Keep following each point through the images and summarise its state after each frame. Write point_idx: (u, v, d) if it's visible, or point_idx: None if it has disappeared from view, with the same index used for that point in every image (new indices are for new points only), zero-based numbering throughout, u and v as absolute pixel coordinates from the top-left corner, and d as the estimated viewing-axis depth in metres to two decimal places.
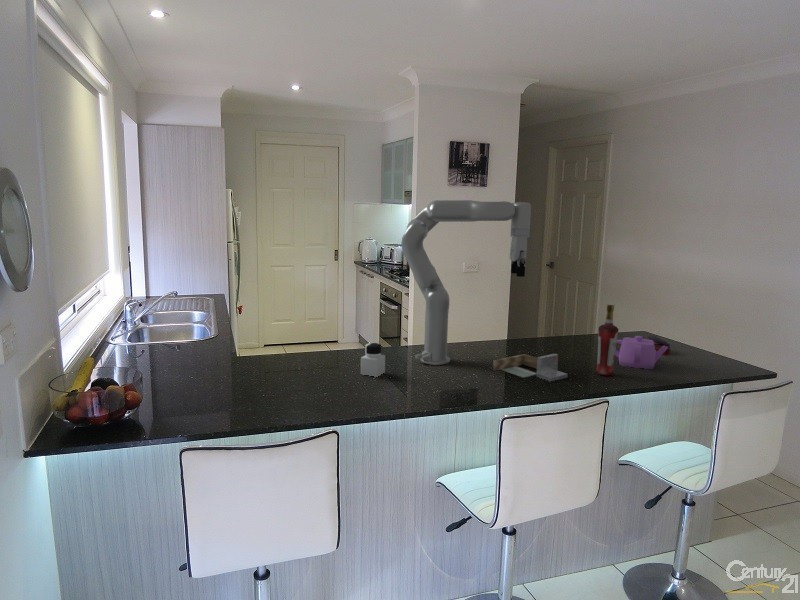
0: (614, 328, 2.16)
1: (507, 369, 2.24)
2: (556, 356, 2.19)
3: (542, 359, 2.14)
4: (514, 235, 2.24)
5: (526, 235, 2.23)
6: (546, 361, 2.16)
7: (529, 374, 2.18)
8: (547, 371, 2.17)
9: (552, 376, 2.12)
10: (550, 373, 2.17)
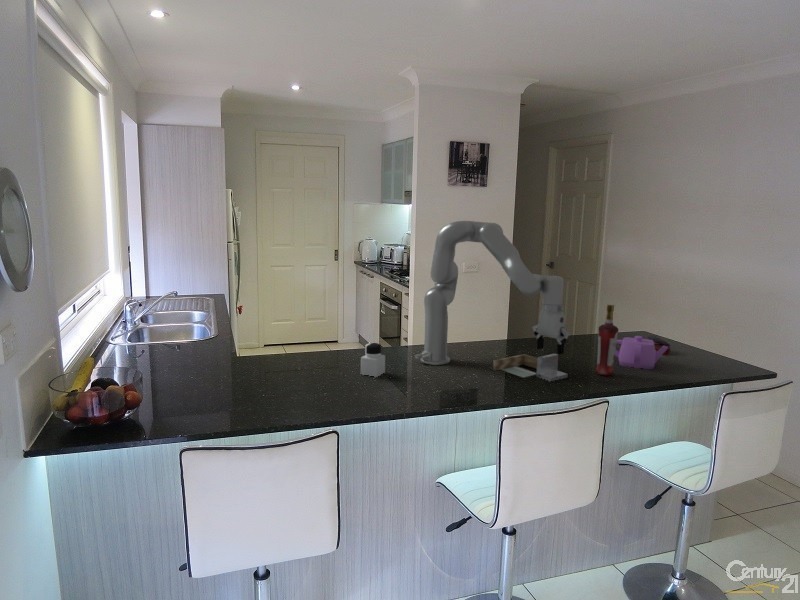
0: (614, 328, 2.16)
1: (507, 369, 2.24)
2: (556, 356, 2.19)
3: (542, 359, 2.14)
4: None
5: (542, 309, 2.16)
6: (546, 361, 2.16)
7: (529, 374, 2.18)
8: (547, 371, 2.17)
9: (552, 376, 2.12)
10: (550, 373, 2.17)
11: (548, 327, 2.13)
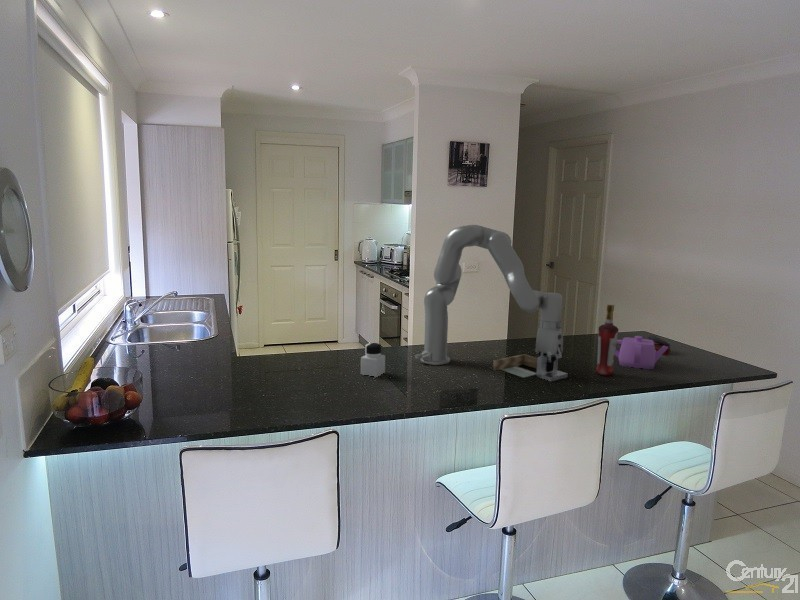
0: (614, 328, 2.16)
1: (507, 369, 2.24)
2: None
3: (542, 359, 2.14)
4: None
5: (540, 325, 2.17)
6: (546, 361, 2.16)
7: (529, 374, 2.18)
8: None
9: (552, 376, 2.12)
10: (550, 373, 2.17)
11: (546, 343, 2.15)
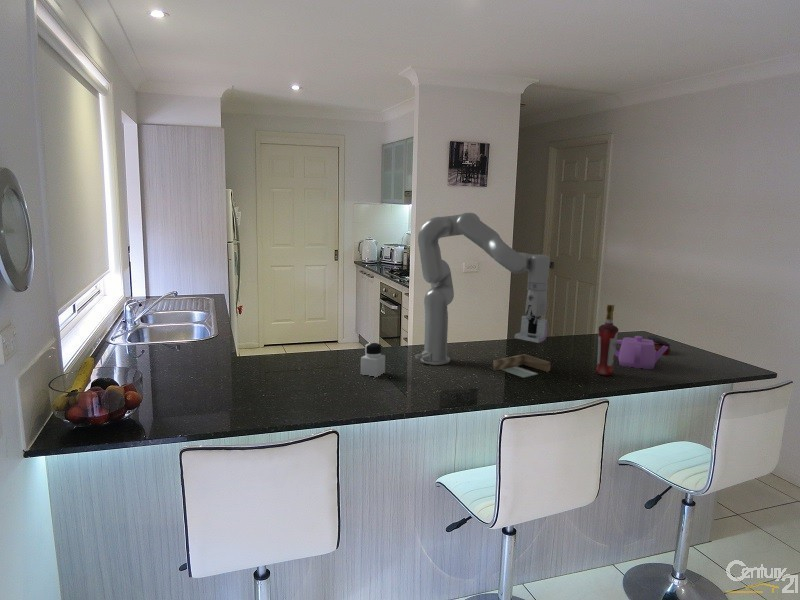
0: (614, 328, 2.16)
1: (507, 369, 2.24)
2: (542, 321, 2.15)
3: (522, 317, 2.20)
4: None
5: None
6: (527, 321, 2.19)
7: (529, 374, 2.18)
8: None
9: (519, 334, 2.17)
10: (530, 334, 2.18)
11: None
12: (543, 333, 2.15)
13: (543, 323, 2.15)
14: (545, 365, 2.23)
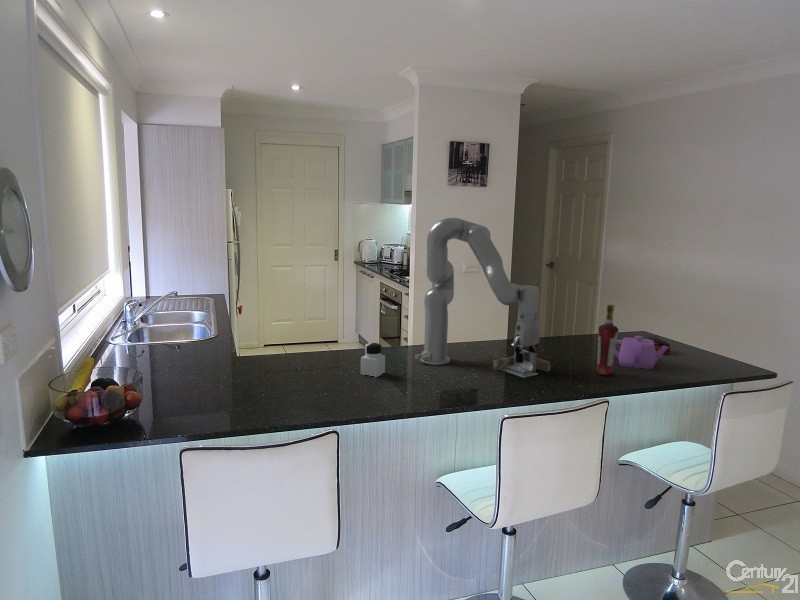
0: (614, 328, 2.16)
1: None
2: (530, 355, 2.19)
3: None
4: (536, 319, 2.19)
5: None
6: None
7: None
8: (520, 365, 2.23)
9: (508, 366, 2.23)
10: (519, 367, 2.22)
11: None
12: (531, 367, 2.19)
13: (531, 357, 2.18)
14: (545, 365, 2.23)
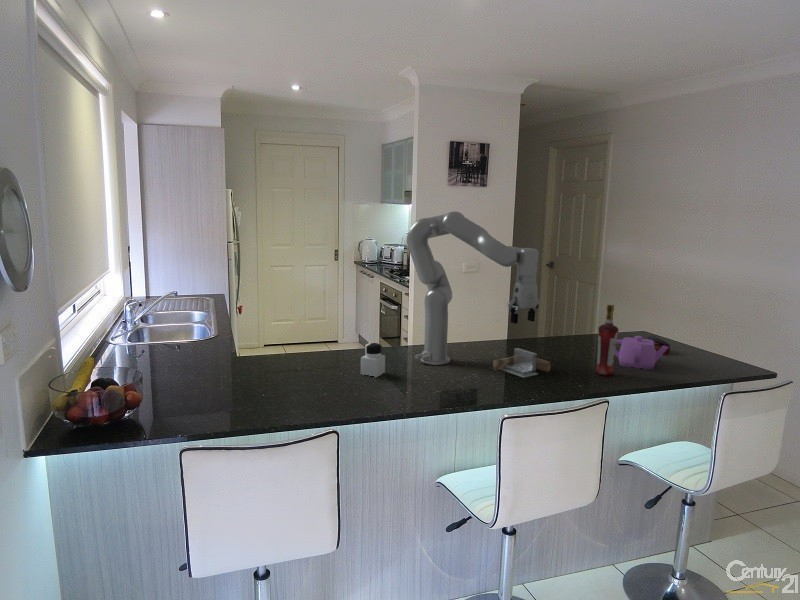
0: (614, 328, 2.16)
1: None
2: (530, 355, 2.19)
3: (515, 350, 2.25)
4: (535, 282, 2.19)
5: None
6: (519, 354, 2.24)
7: None
8: (520, 365, 2.23)
9: (508, 366, 2.23)
10: (519, 367, 2.22)
11: None
12: (531, 367, 2.19)
13: (531, 357, 2.18)
14: (545, 365, 2.23)
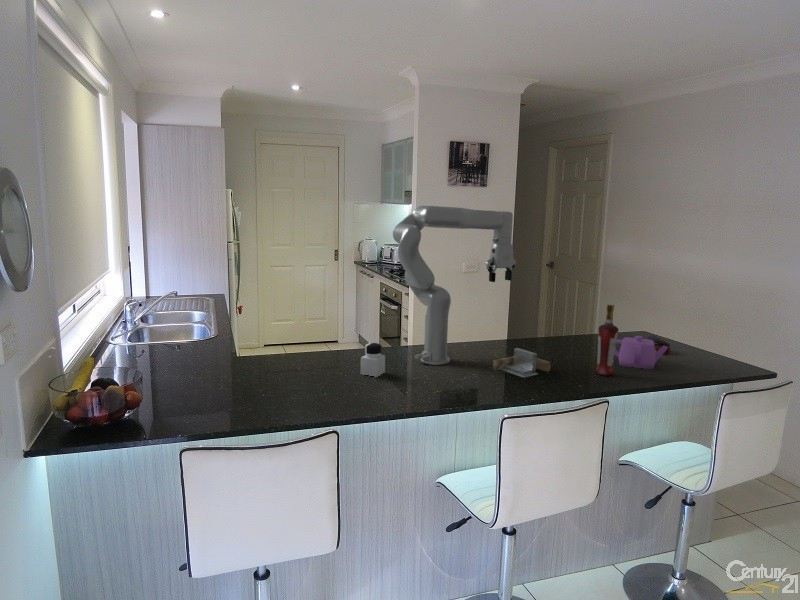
0: (614, 328, 2.16)
1: None
2: (530, 355, 2.19)
3: (515, 350, 2.25)
4: (510, 243, 2.35)
5: None
6: (519, 354, 2.24)
7: None
8: (520, 365, 2.23)
9: (508, 366, 2.23)
10: (519, 367, 2.22)
11: None
12: (531, 367, 2.19)
13: (531, 357, 2.18)
14: (545, 365, 2.23)
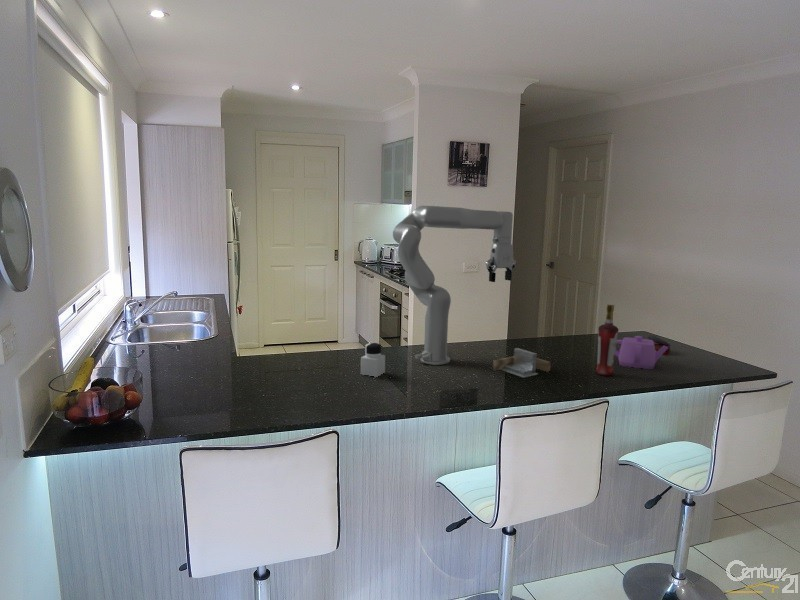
0: (614, 328, 2.16)
1: None
2: (530, 355, 2.19)
3: (515, 350, 2.25)
4: (510, 243, 2.35)
5: None
6: (519, 354, 2.24)
7: None
8: (520, 365, 2.23)
9: (508, 366, 2.23)
10: (519, 367, 2.22)
11: None
12: (531, 367, 2.19)
13: (531, 357, 2.18)
14: (545, 365, 2.23)
